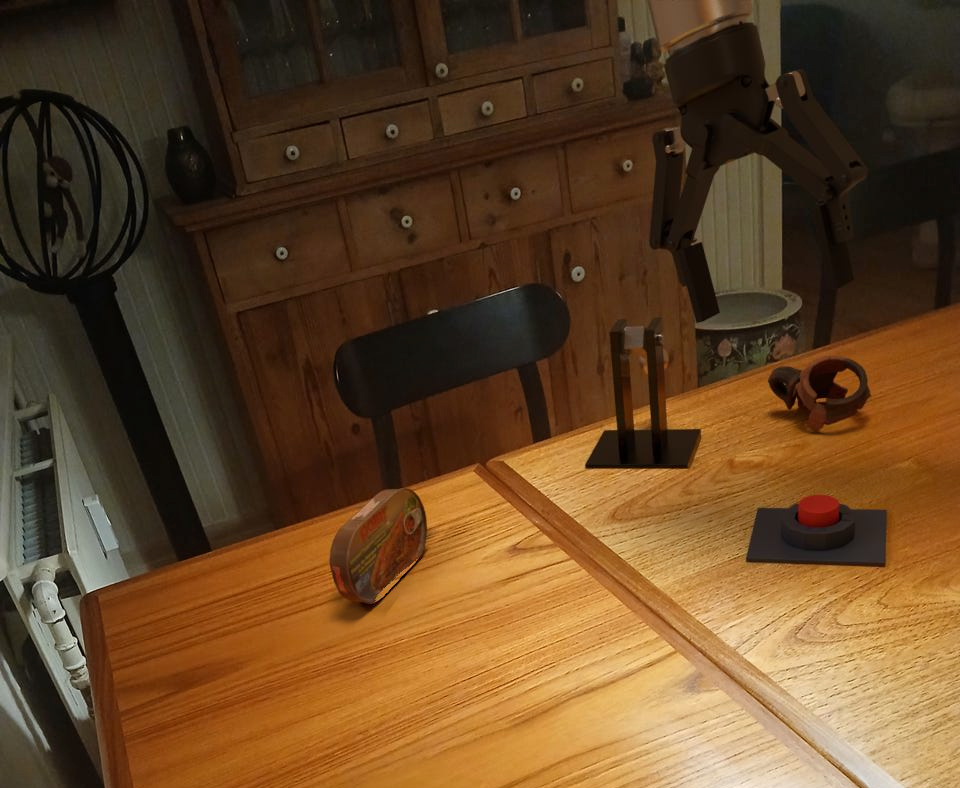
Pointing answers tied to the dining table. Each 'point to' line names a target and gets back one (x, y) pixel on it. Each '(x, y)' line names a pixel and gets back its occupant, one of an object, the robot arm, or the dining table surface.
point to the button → (818, 511)
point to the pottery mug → (821, 389)
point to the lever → (639, 346)
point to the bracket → (659, 442)
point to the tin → (378, 544)
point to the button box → (819, 538)
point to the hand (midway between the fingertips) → (771, 303)
